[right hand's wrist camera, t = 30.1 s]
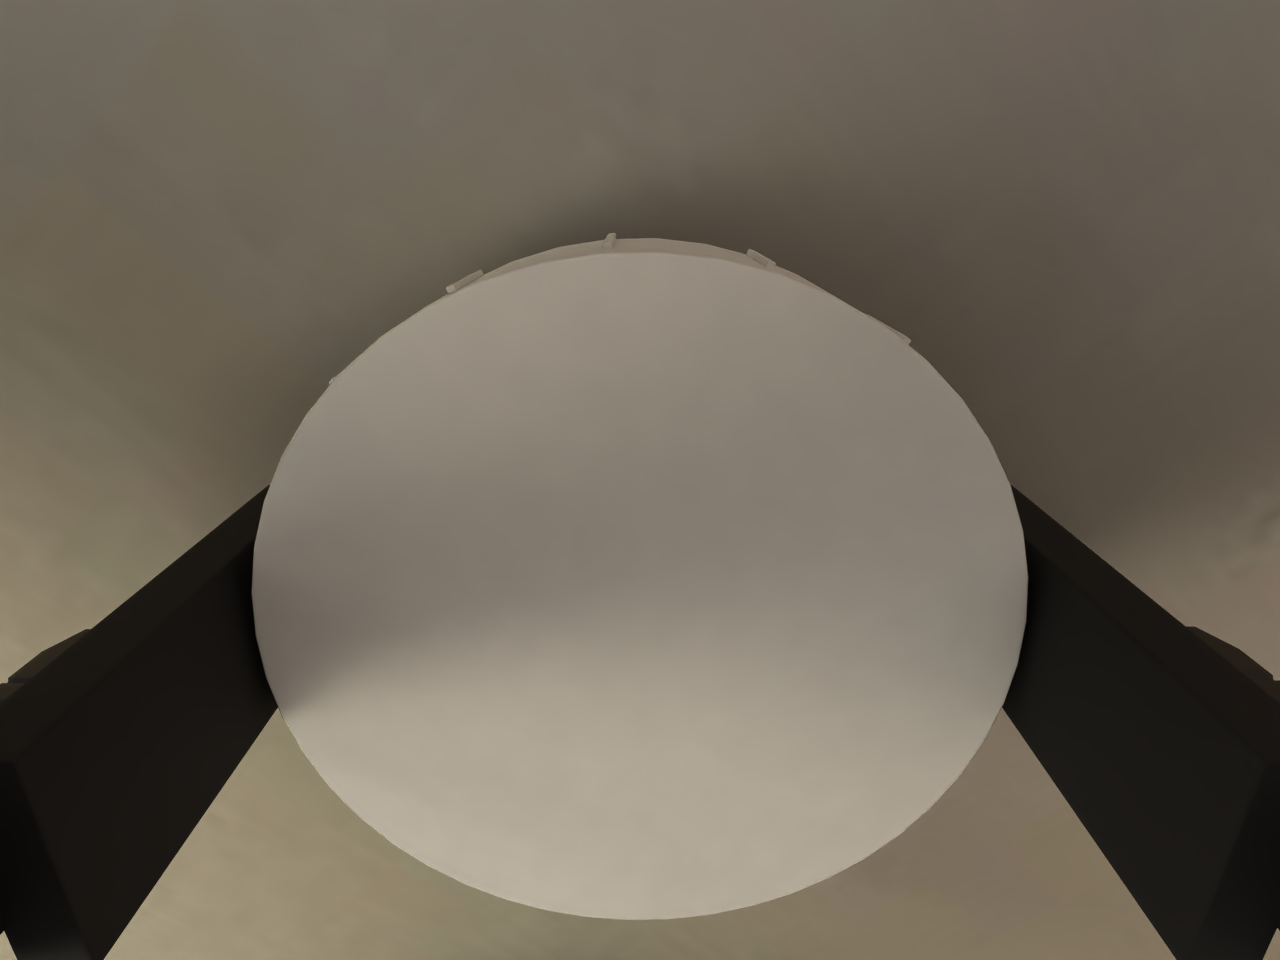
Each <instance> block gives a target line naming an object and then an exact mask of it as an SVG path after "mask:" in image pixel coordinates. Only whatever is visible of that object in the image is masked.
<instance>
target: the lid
mask: <svg viewBox="0 0 1280 960" xmlns="http://www.w3.org/2000/svg"><path fill="white" fill-rule="evenodd" d="M446 290H447V292H448V294H447V295H445V296H443V297H442V298H440V299H438V300H436V301H435V302H433V303H431V304H429V305H428V306H426V307H425V308H423V309H422V310H420V311H419V312H417V313H415V314H414V315H412V316H411V317H409V318H408V319H406V320H405V321H403V322H402V323H400V324H399V325H397V326H396V327H394V328H393V329H391V330H390V331H388V332H387V333H385V334H384V335H382V336H381V337H380V338H378V339H377V340H376V341H375V342H374V343H373V344H372V345H371V346H369V347H368V348H367V349H366V350H365V351H364V352H363V353H362V354H361V355H359V356H358V357H357V358H356V359H355V360H354V361H353V362H352V363H351V364H349V365H348V366H347V367H346V368H345V369H344V370H343V371H342V372H341V373H340V374H338V375H336V376H335V377H333V378H332V379H331V381H330V382H329V384H330V386H329V387H328V388H327V389H326V391H325V392H324V393H323V394H322V396H321V397H320V398H319V399H318V400H317V402H316V403H315V404H314V405H313V407H312V408H311V409H310V410H309V411H308V413H307V414H306V416H305V417H304V419H303V421H302V423H301V424H300V426H299V428H298V429H297V431H296V433H295V434H294V436H293V438H292V440H291V441H290V443H289V445H288V446H287V448H286V450H285V451H284V453H283V455H282V457H281V459H280V462H279V464H278V467H277V469H276V472H275V475H274V477H273V480H272V482H271V485H270V487H269V490H268V492H267V495H266V497H265V500H264V504H263V508H262V513H261V518H260V522H259V527H258V531H257V536H256V540H255V545H254V558H253V575H252V603H253V613H254V623H255V633H256V639H257V643H258V647H259V651H260V655H261V659H262V663H263V667H264V671H265V675H266V678H267V681H268V683H269V686H270V688H271V690H272V693H273V695H274V698H275V700H276V703H277V705H278V708H279V710H280V712H281V715H282V717H283V719H284V721H285V722H286V724H287V726H288V728H289V729H290V731H291V733H292V734H293V736H294V738H295V740H296V741H297V743H298V745H299V746H300V748H301V750H302V752H303V753H304V755H305V756H306V757H307V759H308V760H309V761H310V763H311V764H312V765H313V766H314V768H315V769H316V770H317V772H318V773H319V774H320V776H321V777H322V778H323V779H324V781H325V782H326V783H327V785H328V786H329V787H330V788H331V789H332V790H333V791H334V792H335V793H336V794H337V795H338V796H339V797H340V798H341V799H342V800H343V801H344V802H345V803H346V804H347V805H348V806H349V807H350V808H351V809H352V811H353V812H354V813H355V814H356V815H357V816H358V817H360V818H361V819H362V820H363V821H365V822H366V823H367V824H368V825H370V826H371V827H372V828H373V829H375V830H376V831H377V832H378V833H379V834H381V835H382V836H383V837H384V838H386V839H387V840H388V841H389V842H391V843H392V844H394V845H395V846H397V847H398V848H400V849H402V850H403V851H405V852H406V853H408V854H409V855H411V856H412V857H414V858H416V859H417V860H419V861H420V862H422V863H423V864H425V865H427V866H429V867H431V868H433V869H435V870H437V871H439V872H441V873H443V874H445V875H447V876H449V877H451V878H453V879H455V880H457V881H459V882H461V883H463V884H465V885H468V886H470V887H473V888H476V889H478V890H481V891H483V892H486V893H489V894H491V895H494V896H497V897H499V898H502V899H505V900H509V901H513V902H516V903H520V904H524V905H527V906H531V907H535V908H538V909H542V910H547V911H553V912H559V913H565V914H570V915H576V916H582V917H592V918H605V919H618V920H666V919H677V918H686V917H695V916H704V915H712V914H717V913H721V912H726V911H731V910H736V909H741V908H746V907H751V906H754V905H757V904H760V903H764V902H767V901H770V900H773V899H777V898H780V897H783V896H786V895H790V894H792V893H795V892H797V891H799V890H802V889H804V888H807V887H809V886H811V885H814V884H816V883H818V882H821V881H823V880H826V879H828V878H830V877H832V876H834V875H836V874H837V873H839V872H841V871H843V870H845V869H847V868H849V867H850V866H852V865H854V864H856V863H858V862H860V861H861V860H863V859H865V858H867V857H868V856H870V855H871V854H872V853H874V852H875V851H877V850H878V849H880V848H881V847H883V846H884V845H885V844H887V843H888V842H890V841H891V840H893V839H894V838H896V837H897V836H898V835H900V834H901V833H902V832H903V831H905V830H906V829H907V828H908V827H909V826H910V825H911V824H913V823H914V822H915V821H916V820H917V819H918V818H919V817H921V816H922V815H923V814H924V813H925V812H926V811H928V810H929V809H930V808H931V807H932V806H933V805H934V804H935V803H936V802H937V800H938V799H939V798H940V797H941V796H942V795H943V794H944V793H945V792H946V791H947V789H948V788H949V787H950V786H951V785H952V784H953V783H954V782H955V781H956V779H957V778H958V777H959V776H960V775H961V773H962V772H963V771H964V769H965V768H966V766H967V765H968V763H969V762H970V761H971V759H972V758H973V756H974V755H975V754H976V752H977V751H978V749H979V748H980V746H981V745H982V744H983V742H984V740H985V739H986V737H987V735H988V733H989V731H990V729H991V727H992V725H993V723H994V721H995V719H996V717H997V715H998V714H999V712H1000V710H1001V708H1002V706H1003V704H1004V701H1005V698H1006V696H1007V693H1008V690H1009V687H1010V684H1011V681H1012V679H1013V676H1014V673H1015V670H1016V667H1017V665H1018V660H1019V655H1020V650H1021V645H1022V640H1023V635H1024V630H1025V625H1026V616H1027V593H1028V571H1027V562H1026V553H1025V544H1024V535H1023V529H1022V525H1021V522H1020V518H1019V514H1018V511H1017V507H1016V503H1015V500H1014V496H1013V493H1012V489H1011V485H1010V483H1009V481H1008V479H1007V477H1006V474H1005V472H1004V470H1003V468H1002V466H1001V464H1000V461H999V459H998V457H997V455H996V453H995V450H994V448H993V446H992V444H991V442H990V440H989V438H988V437H987V435H986V434H985V432H984V431H983V429H982V428H981V426H980V425H979V423H978V422H977V420H976V419H975V417H974V416H973V414H972V413H971V411H970V410H969V408H968V407H967V405H966V404H965V402H964V401H963V399H962V398H961V397H960V396H959V395H958V394H957V393H956V392H955V390H954V389H953V388H952V387H951V386H950V385H949V384H948V383H947V382H946V381H945V379H944V378H943V377H942V376H941V375H940V374H939V373H938V372H937V371H936V370H935V369H934V367H933V366H932V365H931V364H930V363H929V362H928V361H927V360H926V359H925V358H924V357H922V356H921V355H920V354H919V353H917V352H916V351H915V350H914V349H913V348H911V347H910V346H909V344H910V342H911V340H910V339H909V338H908V337H907V336H905V335H903V334H901V333H900V332H898V331H896V330H894V329H893V328H891V327H889V326H887V325H886V324H884V323H882V322H880V321H879V320H877V319H875V318H873V317H872V316H870V315H868V314H864V313H862V312H861V311H859V310H857V309H855V308H854V307H852V306H850V305H849V304H847V303H845V302H844V301H842V300H840V299H839V298H837V297H835V296H833V295H832V294H830V293H828V292H827V291H825V290H823V289H821V288H820V287H818V286H816V285H814V284H813V283H811V282H809V281H807V280H806V279H804V278H802V277H801V276H799V275H797V274H795V273H793V272H790V271H788V270H785V269H783V268H780V267H778V266H776V263H775V262H773V261H772V260H770V259H768V258H767V257H765V256H763V255H761V254H760V253H758V252H756V251H754V250H751V249H748V251H747V254H743V253H739V252H736V251H732V250H728V249H724V248H720V247H716V246H712V245H708V244H704V243H695V242H686V241H678V240H669V239H660V238H637V239H616V233H609V234H608V235H607V237H606V238H605V240H599V241H593V242H587V243H580V244H574V245H568V246H562V247H557V248H554V249H551V250H547V251H544V252H541V253H538V254H534V255H531V256H528V257H525V258H521V259H518V260H515V261H512V262H510V263H508V264H506V265H503V266H501V267H499V268H497V269H495V270H493V271H491V272H489V273H486V274H483V272H482V270H481V269H480V270H478V271H476V272H474V273H472V274H470V275H468V276H466V277H464V278H463V279H461V280H459V281H457V282H455V283H453V284H451V285H450V286H448V287H446Z"/></svg>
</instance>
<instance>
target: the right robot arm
mask: <svg viewBox="0 0 1280 960" xmlns="http://www.w3.org/2000/svg"><path fill="white" fill-rule="evenodd" d="M269 487H270V485H268V486H267V487H266V488H264V489H263V490H262V491H261V492H260V493H258V494H257V495H256V496H255V497H253V498H252V499H251V500H250V501H248V502H247V503H246V504H245V505H244V506H242V507H241V508H240V509H239V510H237V511H236V512H235V513H234V514H232V515H231V516H230V517H229V518H228V519H226V520H225V521H224V522H223V523H221V524H220V525H219V526H218V527H216V528H215V529H214V530H213V531H212V532H210V533H209V534H208V535H207V536H205V537H204V538H203V539H202V540H200V541H199V542H198V543H197V544H196V545H194V546H193V547H192V548H191V549H189V550H188V551H187V552H186V553H184V554H183V555H182V556H181V557H180V558H178V559H177V560H176V561H175V562H173V563H172V564H171V565H170V566H168V567H167V568H166V569H165V570H164V571H162V572H161V573H160V574H159V575H157V576H156V577H155V578H154V579H152V580H151V581H150V582H149V583H148V584H146V585H145V586H144V587H143V588H141V589H140V590H139V591H138V592H136V593H135V594H134V595H133V596H132V597H130V598H129V599H128V600H127V601H125V602H124V603H123V604H122V605H120V606H119V607H118V608H117V609H116V610H114V611H113V612H112V613H111V614H109V615H108V616H107V617H106V618H104V619H103V620H102V621H101V622H100V623H98V624H97V625H96V626H95V627H93V628H92V629H86V630H84V631H82V632H80V633H78V634H76V635H74V636H72V637H70V638H68V639H66V640H64V641H62V642H60V643H58V644H56V645H54V646H52V647H50V648H48V649H46V650H44V651H42V652H41V653H40V654H38V655H37V656H36V657H35V658H33V659H32V660H31V661H30V662H28V663H27V664H26V665H24V666H23V667H22V668H21V669H19V670H18V671H17V672H15V673H14V674H13V675H12V676H10V677H9V678H8V683H1V684H0V934H1V933H2V932H3V931H5V933H6V935H7V938H8V940H9V942H10V944H11V947H12V949H13V951H14V953H15V955H16V958H17V960H103V959H104V958H105V957H106V955H107V954H108V952H109V951H110V949H111V948H112V946H113V945H114V943H115V942H116V941H117V939H118V938H119V936H120V935H121V933H122V932H123V930H124V929H125V928H126V926H127V925H128V923H129V922H130V920H131V919H132V917H133V916H134V915H135V913H136V912H137V910H138V909H139V907H140V906H141V904H142V903H143V902H144V900H145V899H146V897H147V896H148V894H149V893H150V891H151V890H152V889H153V887H154V886H155V884H156V883H157V881H158V880H159V878H160V877H161V876H162V874H163V873H164V871H165V870H166V868H167V867H168V865H169V864H170V863H171V861H172V860H173V858H174V857H175V855H176V854H177V852H178V851H179V849H180V848H181V847H182V845H183V844H184V842H185V841H186V839H187V838H188V836H189V835H190V834H191V832H192V831H193V829H194V828H195V826H196V825H197V823H198V822H199V821H200V819H201V818H202V816H203V815H204V813H205V812H206V810H207V809H208V808H209V806H210V805H211V803H212V802H213V800H214V799H215V797H216V796H217V795H218V793H219V792H220V790H221V789H222V787H223V786H224V784H225V783H226V782H227V780H228V779H229V777H230V776H231V774H232V773H233V771H234V770H235V768H236V767H237V766H238V764H239V763H240V761H241V760H242V758H243V757H244V755H245V754H246V753H247V751H248V750H249V748H250V747H251V745H252V744H253V742H254V741H255V740H256V738H257V737H258V735H259V734H260V732H261V731H262V729H263V728H264V727H265V725H266V724H267V722H268V721H269V719H270V718H271V716H272V715H273V714H274V712H275V711H276V709H277V708H278V705H277V703H276V700H275V698H274V695H273V693H272V690H271V688H270V686H269V683H268V681H267V678H266V675H265V671H264V667H263V663H262V659H261V655H260V651H259V647H258V643H257V639H256V633H255V623H254V613H253V603H252V575H253V558H254V545H255V540H256V536H257V531H258V527H259V522H260V518H261V513H262V508H263V504H264V500H265V497H266V495H267V492H268V490H269ZM1011 489H1012V493H1013V496H1014V500H1015V503H1016V507H1017V511H1018V514H1019V518H1020V522H1021V525H1022V529H1023V535H1024V544H1025V553H1026V562H1027V571H1028V593H1027V616H1026V625H1025V630H1024V635H1023V640H1022V645H1021V650H1020V655H1019V660H1018V665H1017V667H1016V670H1015V673H1014V676H1013V679H1012V681H1011V684H1010V687H1009V690H1008V693H1007V696H1006V698H1005V701H1004V704H1003V706H1002V708H1003V709H1004V711H1005V712H1006V714H1007V715H1008V716H1009V718H1010V719H1011V721H1012V722H1013V724H1014V725H1015V727H1016V728H1017V729H1018V731H1019V732H1020V734H1021V735H1022V737H1023V738H1024V740H1025V741H1026V743H1027V744H1028V745H1029V747H1030V748H1031V750H1032V751H1033V753H1034V754H1035V756H1036V757H1037V758H1038V760H1039V761H1040V763H1041V764H1042V766H1043V767H1044V769H1045V770H1046V771H1047V773H1048V774H1049V776H1050V777H1051V779H1052V780H1053V782H1054V783H1055V784H1056V786H1057V787H1058V789H1059V790H1060V792H1061V793H1062V795H1063V796H1064V797H1065V799H1066V800H1067V802H1068V803H1069V805H1070V806H1071V808H1072V809H1073V810H1074V812H1075V813H1076V815H1077V816H1078V818H1079V819H1080V821H1081V822H1082V824H1083V825H1084V826H1085V828H1086V829H1087V831H1088V832H1089V834H1090V835H1091V837H1092V838H1093V839H1094V841H1095V842H1096V844H1097V845H1098V847H1099V848H1100V850H1101V851H1102V852H1103V854H1104V855H1105V857H1106V858H1107V860H1108V861H1109V863H1110V864H1111V865H1112V867H1113V868H1114V870H1115V871H1116V873H1117V874H1118V876H1119V877H1120V878H1121V880H1122V881H1123V883H1124V884H1125V886H1126V887H1127V889H1128V890H1129V891H1130V893H1131V894H1132V896H1133V897H1134V899H1135V900H1136V902H1137V903H1138V904H1139V906H1140V907H1141V909H1142V910H1143V912H1144V913H1145V915H1146V916H1147V918H1148V919H1149V920H1150V922H1151V923H1152V925H1153V926H1154V928H1155V929H1156V931H1157V932H1158V933H1159V935H1160V936H1161V938H1162V939H1163V941H1164V942H1165V944H1166V945H1167V946H1168V948H1169V949H1170V951H1171V952H1172V954H1173V955H1174V957H1175V958H1176V959H1177V960H1263V958H1264V955H1265V953H1266V951H1267V949H1268V946H1269V944H1270V942H1271V940H1272V938H1273V935H1274V933H1275V931H1276V929H1277V928H1278V929H1279V930H1280V681H1274V680H1273V675H1272V674H1270V673H1269V672H1268V671H1267V670H1265V669H1264V668H1263V667H1261V666H1260V665H1259V664H1258V663H1256V662H1255V661H1254V660H1252V659H1251V658H1250V657H1249V656H1247V655H1246V654H1245V653H1243V652H1242V651H1241V650H1240V649H1238V648H1236V647H1234V646H1232V645H1230V644H1228V643H1226V642H1224V641H1222V640H1220V639H1218V638H1216V637H1214V636H1212V635H1210V634H1208V633H1206V632H1204V631H1202V630H1200V629H1198V628H1196V627H1185V626H1184V625H1183V624H1182V623H1180V622H1179V621H1178V620H1177V619H1176V618H1174V617H1173V616H1172V615H1171V614H1169V613H1168V612H1167V611H1166V610H1164V609H1163V608H1162V607H1161V606H1160V605H1158V604H1157V603H1156V602H1155V601H1153V600H1152V599H1151V598H1150V597H1148V596H1147V595H1146V594H1145V593H1143V592H1142V591H1141V590H1140V589H1139V588H1137V587H1136V586H1135V585H1134V584H1132V583H1131V582H1130V581H1129V580H1127V579H1126V578H1125V577H1124V576H1123V575H1121V574H1120V573H1119V572H1118V571H1116V570H1115V569H1114V568H1113V567H1111V566H1110V565H1109V564H1108V563H1107V562H1105V561H1104V560H1103V559H1102V558H1100V557H1099V556H1098V555H1097V554H1095V553H1094V552H1093V551H1092V550H1091V549H1089V548H1088V547H1087V546H1086V545H1084V544H1083V543H1082V542H1081V541H1079V540H1078V539H1077V538H1076V537H1075V536H1073V535H1072V534H1071V533H1070V532H1068V531H1067V530H1066V529H1065V528H1063V527H1062V526H1061V525H1060V524H1059V523H1057V522H1056V521H1055V520H1054V519H1052V518H1051V517H1050V516H1049V515H1047V514H1046V513H1045V512H1044V511H1043V510H1041V509H1040V508H1039V507H1038V506H1036V505H1035V504H1034V503H1033V502H1031V501H1030V500H1029V499H1028V498H1027V497H1025V496H1024V495H1023V494H1022V493H1020V492H1019V491H1018V490H1017V489H1015V488H1014V487H1013V486H1012V485H1011Z"/></svg>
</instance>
